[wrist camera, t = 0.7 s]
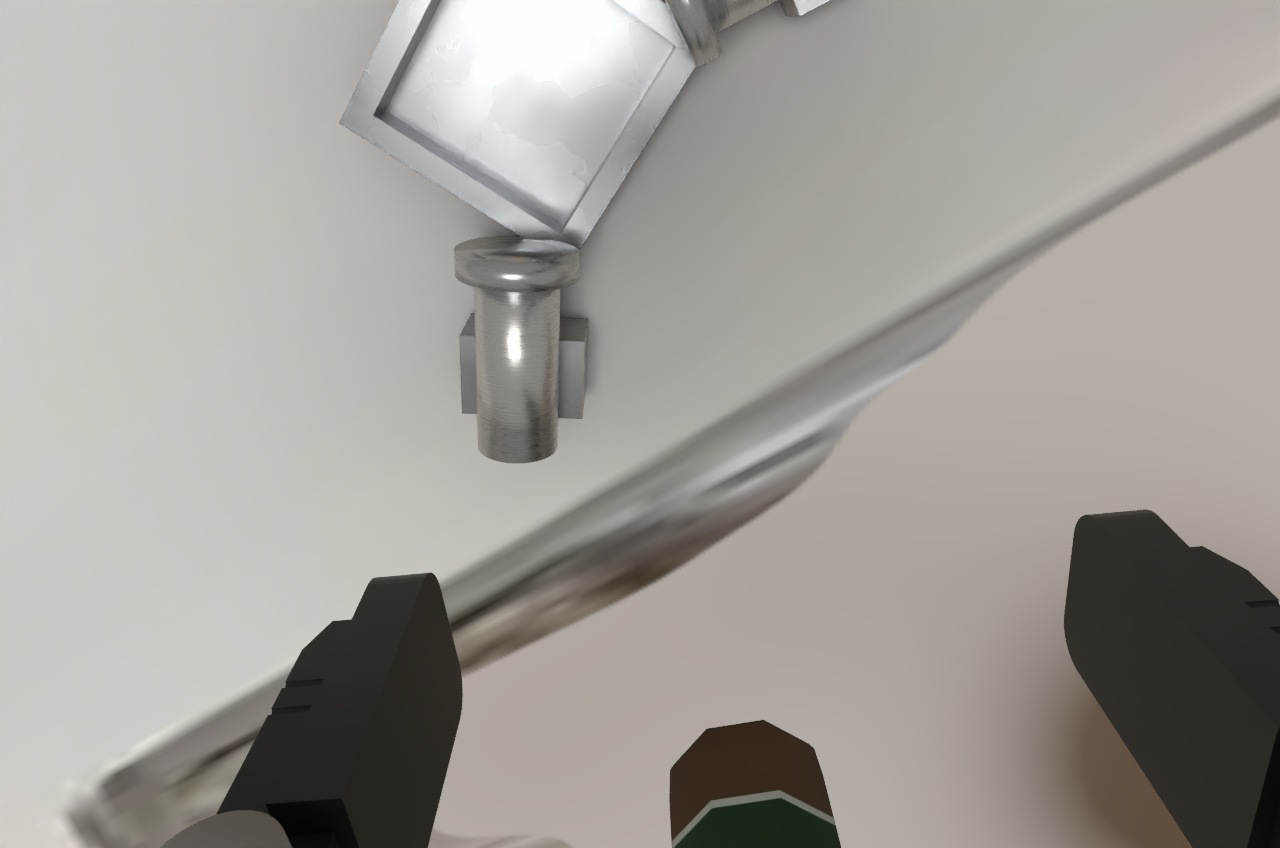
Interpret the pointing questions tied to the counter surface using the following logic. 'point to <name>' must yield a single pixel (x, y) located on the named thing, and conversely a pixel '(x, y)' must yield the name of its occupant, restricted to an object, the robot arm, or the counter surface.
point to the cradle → (522, 102)
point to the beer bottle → (750, 792)
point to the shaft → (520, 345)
